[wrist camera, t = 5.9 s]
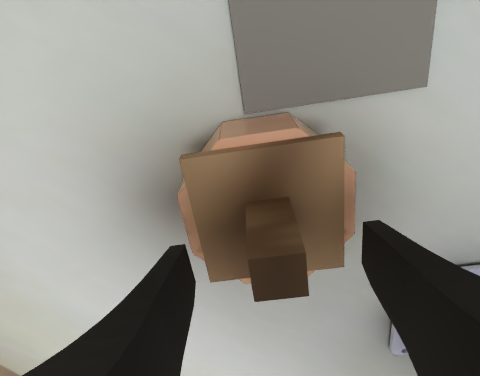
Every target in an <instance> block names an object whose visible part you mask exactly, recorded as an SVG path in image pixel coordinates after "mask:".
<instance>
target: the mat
mask: <svg viewBox="0 0 480 376" xmlns="http://www.w3.org/2000/svg"><path fill="white" fill-rule="evenodd" d="M436 6H437V0H229V7H230V14H231V21H232V28H233V35H234V42H235V49H236V56H237V63H238V70H239V77H240V84H241V91H242V98H243V105H244V112H245V114H249V113H256V112H262V111H269V110H275V109H282V108H289V107H295V106H302V105H309V104H315V103H322V102H328V101H335V100H342V99H348V98H355V97H362V96H368V95H375V94H381V93H388V92H395V91H401V90H408V89H415V88H421V87H427V83H428V74H429V65H430V57H431V48H432V40H433V31H434V23H435V14H436Z"/></svg>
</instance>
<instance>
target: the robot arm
mask: <svg viewBox="0 0 480 376" xmlns="http://www.w3.org/2000/svg"><path fill="white" fill-rule="evenodd" d="M362 265H363V267H364V270H365V272H366V275H367V277H368V280H369V282H370V285H371V287H372V288H373V290H374V292H375V294H376V296H377V297H378V299H379V301H380V303H381V304H382V306H383V308H384V310H385V311H386V313H387V315H388V317H389V319H390V320H391V322H392V328H391V337H390V347H389V349H390V351H391V353H392V354H393V355H407V354H409V357H410V359H411V361H412V363H413V365H414V368H415V370H416V372H417V374H418V376H480V265H473V266H464V267H459V266H457V265H455V264H453V263H451V262H449V261H447V260H446V259H444V258H442V257H440V256H438V255H436V254H434V253H433V252H431V251H429V250H427V249H426V248H424V247H422V246H420V245H419V244H417V243H415V242H414V241H412V240H410V239H409V238H407V237H406V236H404V235H402V234H401V233H399V232H398V231H396V230H394V229H393V228H391V227H390V226H388V225H386V224H385V223H383V222H381V221H380V220H375V221H367V222H363V237H362ZM195 285H196V281H195V278H194V274H193V271H192V267H191V264H190V260H189V256H188V253H187V249H186V246H185V244H183V245H175V246H170V247H169V249H168V250H167V251H166V252H165V253H164V254H163V256H162V257H161V258H160V259H159V261H158V262H157V263H156V264H155V265H154V267H153V268H152V269H151V270H150V271H149V272H148V274H147V275H146V276H145V277H144V278H143V279H142V281H141V282H140V283H139V284H138V285H137V286H136V287H135V288H134V289H133V290H132V291H131V292H130V293H129V294H128V295H127V296H126V298H125V299H124V300H123V301H121V302H120V303H119V304H118V305H117V306H116V307H115V308H114V309H113V310H112V311H111V312H110V313H109V314H107V315H106V316H105V317H104V318H103V319H102V320H101V321H99V322H98V323H97V324H96V325H94V326H93V327H92V328H91V329H89V330H88V331H87V332H86V333H84V334H83V335H82V336H80V337H79V338H78V339H77V340H75V341H74V342H73V343H71V344H70V345H68V346H67V347H66V348H64V349H63V350H61V351H60V352H58V353H57V354H55V355H54V356H52V357H51V358H49V359H48V360H46V361H45V362H43V363H42V364H40V365H39V366H37V367H35V368H34V369H32V370H30V371H29V372H27V373H25V374H24V375H22V376H180V373H181V366H182V360H183V355H184V350H185V346H186V341H187V336H188V331H189V327H190V322H191V317H192V312H193V307H194V298H195Z"/></svg>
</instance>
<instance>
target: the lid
mask: <svg viewBox="0 0 480 376" xmlns="http://www.w3.org/2000/svg"><path fill="white" fill-rule="evenodd" d="M179 161H180V165H181V169H182V173H183V177H184V181H185V185H186V189H187V193H188V197H189V201H190V204H191V208H192V212H193V216H194V220H195V224H196V228H197V232H198V236H199V240H200V244H201V248H202V252H203V255H204V259H205V263H206V267H207V271H208V275H209V279H210V282H218V281H226V280H235V279H244V278H250V279H251V284H252V290H253V296H254V301H255V302H259V301H268V300H277V299H286V298H295V297H304V296H309V290H308V276H307V271H313V270H321V269H330V268H339V267H344V135H343V134H342V133H341V132H337V133H330V134H323V135H316V136H309V137H302V138H295V139H288V140H281V141H274V142H267V143H260V144H253V145H246V146H239V147H232V148H226V149H219V150H212V151H205V152H198V153H191V154H184V155H181V157H180V159H179Z"/></svg>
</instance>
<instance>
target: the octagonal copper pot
mask: <svg viewBox="0 0 480 376" xmlns="http://www.w3.org/2000/svg"><path fill="white" fill-rule="evenodd" d="M316 135H317V134H316V133H314V132H313V131H312V130H311V129H309V128H308V127H307V126H306V125H304V124H303V123H302V122H300V121H299V120H298V119H297V118H295V117H294V116H293V115H292V114H290V113H288V112H286V113H279V114H272V115H266V116H259V117H252V118H246V119H239V120H232V121H226V122H223V123H221V124H220V126H219V127H218V128H217V130H216V131H215V133H214V134H213V135H212V137H211V138H210V140H209V141H208V142H207V144H206V145H205V147H204V148H203V149H202V151H201V152H205V151H212V150H219V149H226V148H232V147H239V146H246V145H253V144H260V143H267V142H274V141H281V140H288V139H295V138H302V137H309V136H316ZM355 185H356V172H355V171H354V170H353V168H352V167H351V166H350V165H349V164H348V163H347V161H346V160H345V159H344V243H345V242H346V241H348V240H349V239H350V238H351V237H352V236H353V235H354V234H355ZM177 198H178V202H179V205H180V209H181V213H182V216H183V220H184V224H185V227H186V231H187V235H188V238H189V242H190V246H191V249H192V253H194V255H196V256H197V257H199V258H201V259H203V260H204V261H205V259H204V255H203V252H202V248H201V244H200V240H199V236H198V232H197V228H196V224H195V220H194V216H193V212H192V208H191V204H190V201H189V197H188V193H187V189H186V185H185V181H184V180H183V183H182V185H181V188H180V190H179V193H178V195H177ZM314 271H315V270H313V271H307V276H309V275H310V274H312V273H313V272H314ZM238 280H240V281H242V282H244V283H246V284H247V283H251V279H250V278H244V279H238Z"/></svg>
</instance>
